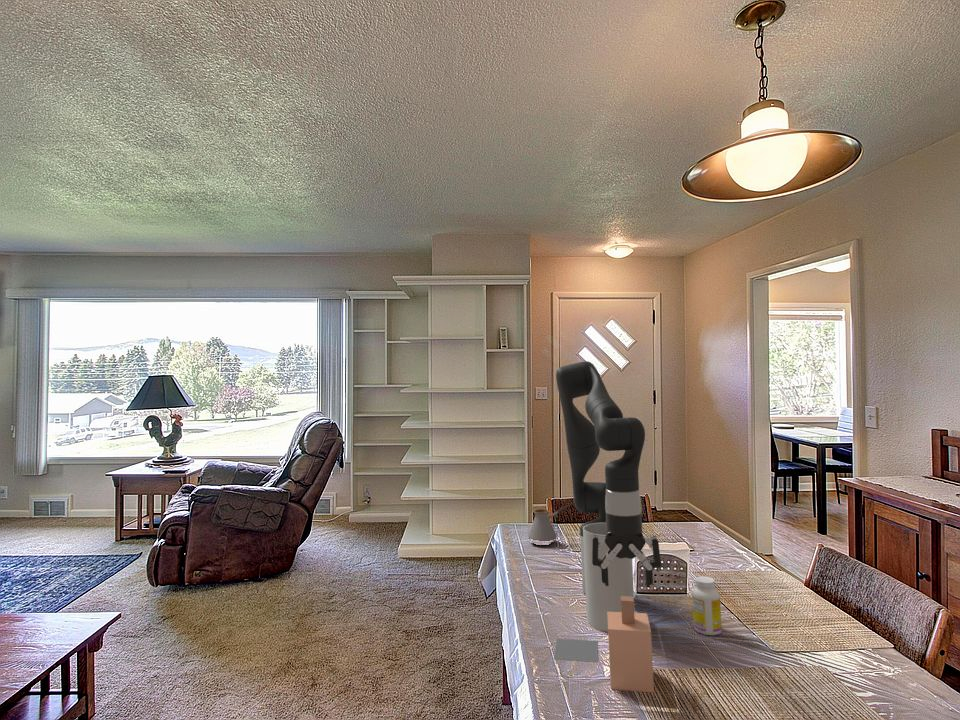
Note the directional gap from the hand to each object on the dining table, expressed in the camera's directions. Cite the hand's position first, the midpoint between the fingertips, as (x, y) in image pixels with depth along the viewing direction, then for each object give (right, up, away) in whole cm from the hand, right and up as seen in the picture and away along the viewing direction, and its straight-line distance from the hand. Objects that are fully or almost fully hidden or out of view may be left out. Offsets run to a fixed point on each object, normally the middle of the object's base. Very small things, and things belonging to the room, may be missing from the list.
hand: (627, 585), depth 115 cm
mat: (-9, -21, +12) cm, 26 cm away
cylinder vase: (+3, -22, +26) cm, 34 cm away
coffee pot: (-2, -25, +100) cm, 103 cm away
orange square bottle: (+1, -20, -1) cm, 20 cm away
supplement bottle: (+26, -21, +21) cm, 40 cm away
